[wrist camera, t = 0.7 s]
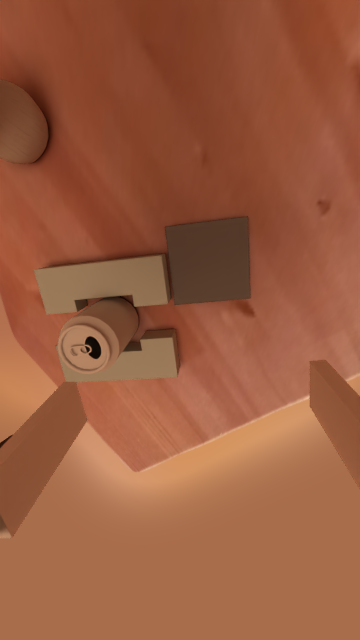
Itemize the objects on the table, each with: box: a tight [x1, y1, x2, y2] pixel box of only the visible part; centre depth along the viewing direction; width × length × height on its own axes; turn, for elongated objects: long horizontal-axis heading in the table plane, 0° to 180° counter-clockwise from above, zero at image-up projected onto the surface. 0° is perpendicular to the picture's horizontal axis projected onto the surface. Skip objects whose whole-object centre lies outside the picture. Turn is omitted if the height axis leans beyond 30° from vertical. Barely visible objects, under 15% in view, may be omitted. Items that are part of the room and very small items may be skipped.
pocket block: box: [34, 253, 180, 382], centre depth 39 cm, size 18×18×4 cm
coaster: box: [165, 216, 250, 305], centre depth 37 cm, size 11×11×1 cm
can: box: [58, 297, 139, 374], centre depth 35 cm, size 8×8×12 cm
